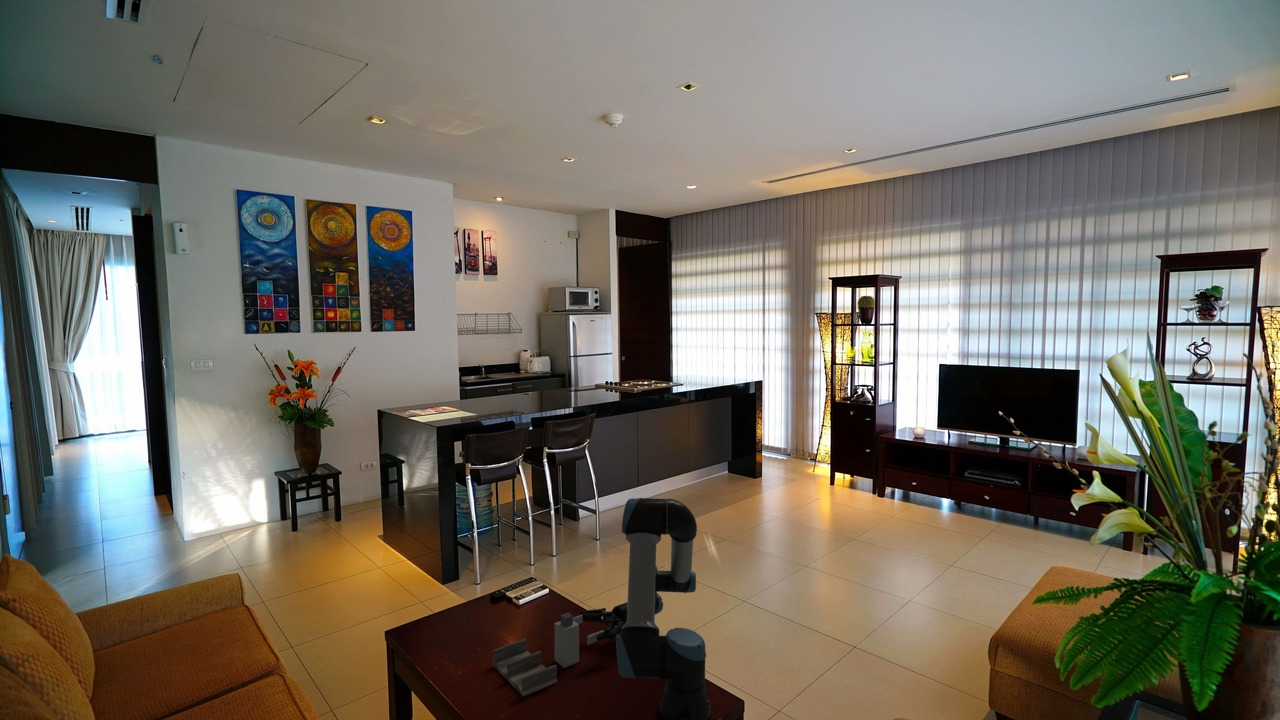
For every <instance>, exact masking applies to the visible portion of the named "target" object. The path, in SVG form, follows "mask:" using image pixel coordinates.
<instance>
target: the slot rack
mask: <svg viewBox="0 0 1280 720" xmlns="http://www.w3.org/2000/svg"><path fill="white" fill-rule="evenodd" d="M492 656H493V661H492V662H493V663H492V665H493V667H494V668H495V669H496V670H497V671H498V673H500V674H501V675H502V676H503V677H504V678H505V679H506V680H507V681H508V683H509V684H510V685H511V686H513V688H514V689H515V690H516V691H517V692H518V693H519V694H520V695H521V696H522V697H526V696H528V695H530V694H533V693H536V692H537V691H539V690H542V689H544V688H547V687H549V686H551V685H553V684H554V685H555V684H557V682H558V665H557V664H553V665H550V666H548V667H546V666H545V665H543V664H542V652H541V651H540V650H539V651H536V652H533V653H530V652H529V651H528V639H527V638H524V639H520V640H517V641H515V642H512V643H509V644H507V645H504V646H501V647H498V648H495V649H493V655H492Z"/></svg>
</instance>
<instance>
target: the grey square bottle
mask: <svg viewBox="0 0 1280 720" xmlns="http://www.w3.org/2000/svg"><path fill="white" fill-rule="evenodd" d="M573 617H574V615H572V614H571V613H569V612H566V613H561V614H560V621H558V622H557V621H556V622H554V661H555V662H556V663H558V665H560V667H562V668H563V669H565V668H567V667H570V666H573V665H574V664H577V663H579V661H580V624H577V623H576V622H575V621H573Z"/></svg>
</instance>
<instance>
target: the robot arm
mask: <svg viewBox="0 0 1280 720" xmlns="http://www.w3.org/2000/svg"><path fill="white" fill-rule="evenodd" d="M621 522H622V523H621V533H622V534H624V535H625V540H626V541H627V542H628V543H629V561H628V583H627V584H628V585H627V601H626V602H624V603H621V604H618V605H615V606H614V607H613V608H612V609H611V611H607V608H606V607H602V608H598V609H595V608H594V609H586V610H585V609H584V610H579V615H576V616H573V621H575V622H576V623H577V624H579V625H580V624H583V622H595V623H596V622H598V623H600V624H605V625H606V626H607V627H606V629H604V630H603V629H602V630H600V631H597V632H594V633H591V634H589V635H587V636H586V644H587V645H588V646H589V645H591V644H594V643H596V642H599V641H603V640H609V641H614V640H615V648H616V649H615V650H616V662H617V669H618V673H619V675H620V676H621V677H623V678H629V679H631V678H632V679H633V680H634V679H635V680H636V679H647V680H648V679H650V680H651V679H653V680H654V679H655V680H661V679H662V680H665V686H664V688H663V692H662V696H661V697H660V700H659V714H660V716H661V717H662V718H663V720H707V719H709V718H710V716H711V701H710V699H709V695H708V692H707V689H706V657H707V652H706V643H705V640H704V637H702V636H701V635H700V634H699V633H697V632H696V631H694V630H692V629H689V628H686V627H675V628H671V629H669V630H668V631H667V632H666V634H665V635H660V628H659V627H658V625H657V624H656V623H655V618H656V617H655V616H656V615H658V614H659V613H661V612H662V610H663V608H664V601H663V598H662V596H661V595H660V594H659V593H660V592H661V593H682V594H686V593H688V594H689V593H690V594H691V593H695V592H696V590H697V589H696V588H697V575H696V572H695V571H692V567H693V564H692V563H693V549H694V540H695V538H696V536H697V532H698V527H697V526H698V524H697V521H696V519H695V516H694V514H693V512H692V511H691V509H689V508H688V507H687V505H685V504H684V503H682V502H681V501H679V500H677V499H673V498H653V497H652V498H650V497H649V498H647V497H646V498H645V497H637V498H635V497H634V498H628V500H627V501H626V502H625V506H624V509H623V514H622V521H621ZM662 535H664V536H668V535H669V537H670V538H671V540H670V541H671V547H670V549H671V550H670V570H658V567H657V544H659V543H660V542H661V540H662ZM658 592H659V593H658ZM709 715H710V716H709ZM708 717H709V718H708Z"/></svg>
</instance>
